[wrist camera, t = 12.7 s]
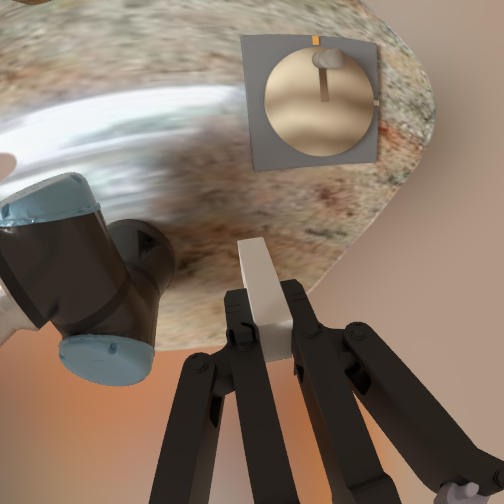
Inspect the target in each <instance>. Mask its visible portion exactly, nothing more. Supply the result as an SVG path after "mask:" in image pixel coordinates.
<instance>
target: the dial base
mask: <svg viewBox="0 0 504 504" xmlns="http://www.w3.org/2000/svg"><path fill="white" fill-rule="evenodd" d="M241 47H242V57H243V67H244V77H245V87H246V97H247V108H248V118H249V129H250V140H251V151H252V162H253V170H254V172H262V171H270V170H279V169H289V168H299V167H310V166H323V165H337V164H355V163H376V157H377V139H378V106H379V101H378V67H377V50H376V43H372V42H366V41H359V40H352V39H345V38H336V37H325V36H312V35H280V34H277V35H245V36H241ZM310 47H326V48H331V49H332V48H338V49H341V50H342V51H343V52H344V53H345V54H346V55H347V56H349V57H350V58H351V59H353V60H354V61H355V62H356V63H357V64H358V65H359V66H360V67H361V68H362V70H363V71H364V72H365V74H366V76H367V77H368V80H369V82H370V84H371V87H372V91H373V96H374V111H373V116H372V120H371V123H370V125H369V128H368V129H367V131H366V133H365V134H364V136H363V137H362V138H361V139H360V140H359V141H358V142H357V143H356V144H355V145H354V146H352V147H351V148H349V149H348V150H346V151H344V152H342V153H339V154H336V155H331V156H313V155H308V154H305V153H302V152H300V151H298V150H296V149H294V148H293V147H291V146H290V145H288V144H287V143H286V142H284V141H283V140H282V139H281V138H280V137H279V136H278V135H277V134H276V132H275V131H274V130H273V128H272V127H271V125H270V123H269V121H268V119H267V115H266V112H265V107H264V89H265V85H266V82H267V79H268V77H269V75H270V73H271V71H272V70H273V68H274V67H275V66H276V64H277V63H278V62H280V61H281V60H282V59H283V58H284V57H286V56H287V55H289V54H291V53H293V52H295V51H298V50H301V49H305V48H310Z"/></svg>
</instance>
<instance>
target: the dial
mask: <svg viewBox="0 0 504 504" xmlns="http://www.w3.org/2000/svg"><path fill="white" fill-rule="evenodd" d="M264 107H265V112H266V115H267V119H268V121H269V123H270V125H271V127H272V128H273V130H274V131H275V132H276V134H277V135H278V136H279V137H280V138H281V139H282V140H283V141H284V142H286V143H287V144H288V145H290V146H291V147H293V148H294V149H296V150H298V151H300V152H302V153H305V154H308V155H313V156H331V155H336V154H339V153H342V152H344V151H346V150H348V149H349V148H351V147H352V146H354V145H355V144H356V143H357V142H358V141H359V140H360V139H361V138H362V137H363V136H364V134H365V133H366V131H367V129H368V128H369V125H370V123H371V120H372V116H373V111H374V96H373V91H372V87H371V84H370V82H369V80H368V77H367V76H366V74H365V72H364V71H363V70H362V68H361V67H360V66H359V65H358V64H357V63H356V62H355V61H354V60H353V59H351V58H350V57H349V56H347V55H346V54H345V53H344V52H343V51H342V50H341V49H338V48H332V49H331V48H326V47H310V48H305V49H301V50H298V51H295V52H293V53H291V54H289V55H287V56H286V57H284V58H283V59H282V60H281V61H280V62H278V63H277V64H276V66H275V67H274V68H273V70H272V71H271V73H270V75H269V77H268V79H267V82H266V85H265V89H264Z"/></svg>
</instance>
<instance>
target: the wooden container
mask: <svg viewBox="0 0 504 504" xmlns="http://www.w3.org/2000/svg"><path fill="white" fill-rule="evenodd" d="M13 1H17V2H20V3H24V4H28V5H38V4H42V3H45V2H48V1H50V0H13Z"/></svg>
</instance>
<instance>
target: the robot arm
mask: <svg viewBox="0 0 504 504" xmlns="http://www.w3.org/2000/svg"><path fill="white" fill-rule="evenodd" d="M100 208H101V207H100V204H99V203H97V202H96V199H95V197H94V195H93V193H92V191H91V189H90V187H89V184H88V182H87V180H86V179H85V178H84V177H83V176H82V175H81V174H79V173H75V172H69V173H64V174H60V175H57V176H54V177H51V178H48V179H46V180H43V181H41V182H38V183H36V184H33V185H31V186H29V187H27V188H25V189H22V190H20V191H18V192H16V193H14V194H13V195H11V196H9V197H7V198H6V199H4V200H3V201H1V202H0V347H1V346H2V345H3V344H4V343H5V342H6V341H7V340H8V339H9V338H10V337H11V336H12V335H13V334H14V333H15V332H16V331H17V330H20V329H25V330H31V331H38V330H40V329H41V328H42V327H43V326H44V325H45V324H46V323H47V322H48V321H49V320H50V321H51V322H52V324H53V325H54V326H55V327H56V329H57V330H58V331H59V332H60V334H61V335H62V340H61V341H60V343H59V346H58V347H59V357H60V360H61V362H62V363H63V365H64V366H65V367H66V368H67V369H68V370H70V371H71V372H72V373H74V374H75V375H77V376H79V377H81V378H83V379H85V380H88V381H90V382H94V383H98V384H101V385H107V386H129V385H133V384H137V383H139V382H141V381H143V380H144V379H145V378H146V377H147V376H148V375H149V373H150V371H151V367H152V363H153V358H154V356H155V350H154V346H155V335H156V326H157V317H158V308H159V300H160V297H161V296H162V294H163V293H164V291H165V290H166V288H167V287H168V286H169V284H170V283H171V281H172V278H173V275H174V268H175V255H174V251H173V249H172V246H171V244H170V243H169V241H168V240H167V238H166V237H165V236H164V235H163V234H162V233H161V232H160V231H159V230H157V229H156V228H154V227H153V226H151V225H149V224H147V223H144V222H141V221H136V220H120V221H116V222H113V223H111V224H109V225H106V222H105V220H104V218H103V215H102V213H101V210H100ZM237 243H238V250H239V257H240V265H241V272H242V279H243V284H244V288H243V289H237V290H231V291H227V292H226V295H225V297H224V304H225V313H226V321H227V330H226V337H227V341H228V342H227V344H226V345H225V347H224V348H223V349H221V350H220V351H218V352H216V353H214V354H211V355H209V354H206V353H202V352H200V353H195V354H192V355H190V356H189V357H188V358H187V359H186V360H185V362H184V364H183V367H182V371H181V375H180V378H179V382H178V386H177V389H176V393H175V397H174V401H173V405H172V408H171V412H170V416H169V420H168V424H167V428H166V431H165V435H164V440H163V444H162V448H161V452H160V456H159V460H158V464H157V469H156V473H155V477H154V482H153V486H152V491H151V495H150V500H149V504H208V501H209V494H210V488H211V482H212V475H213V469H214V463H215V456H216V449H217V444H218V437H219V431H220V424H221V418H222V412H223V406H224V399H225V395H227V394H229V393H231V392H233V391H235V394H236V400H237V406H238V413H239V419H240V426H241V432H242V438H243V443H244V449H245V456H246V461H247V466H248V472H249V478H250V483H251V488H252V493H253V499H254V504H300V502H299V499H298V495H297V491H296V488H295V484H294V480H293V476H292V472H291V468H290V464H289V460H288V456H287V452H286V448H285V444H284V440H283V435H282V431H281V427H280V423H279V419H278V415H277V411H276V406H275V402H274V398H273V394H272V390H271V386H270V381H269V377H268V373H267V369H266V364H265V363H266V362H271V361H276V360H282V359H287V358H291V357H292V354H293V357H294V375H296V374H297V377H298V381H299V384H300V387H301V391H302V394H303V397H304V401H305V404H306V407H307V411H308V414H309V417H310V421H311V424H312V428H313V431H314V434H315V438H316V441H317V444H318V448H319V451H320V454H321V458H322V461H323V465H324V468H325V471H326V475H327V478H328V482H329V485H330V489H331V492H332V503H333V504H402V503H401V500H400V498H399V495H398V492H397V489H396V486H395V484H394V482H393V480H392V478H391V477H390V476H389V475H388V474H386V473H385V472H384V471H383V469H382V466H381V464H380V461H379V458H378V456H377V453H376V450H375V448H374V445H373V442H372V440H371V437H370V435H369V432H368V430H367V427H366V424H365V422H364V419H363V417H362V414H361V412H360V409H359V407H358V404H357V402H356V399H355V397H354V395H353V392H354V394H355V395H356V396H357V398H358V399H359V400H360V402H361V403H362V404H363V406H364V407H365V408H366V410H367V411H368V412H369V413H370V415H371V416H372V417H373V419H374V420H375V421H376V423H377V424H378V425H379V427H380V428H381V429H382V431H383V432H384V433H385V435H386V436H387V437H388V439H389V440H390V441H391V442H392V444H393V445H394V446H395V448H396V449H397V450H398V452H399V453H400V454H401V455H402V457H403V458H404V459H405V461H406V462H407V463H408V465H409V466H410V467H411V469H412V470H413V471H414V473H415V474H416V475H417V477H418V478H419V479H420V480H421V481H422V482H423V484H424V485H425V486H427V487H428V488H429V489H430V490H432V491H433V492H435V493H437V496H436V497H435V499H434V504H487V502H488V500H489V498H490V496H491V495H492V494H495V493H497V492H500V491H502V490H503V489H504V461H502V460H500V459H498V458H496V457H494V456H492V455H490V454H488V453H486V452H484V451H482V450H480V449H478V448H477V447H476V446H475V445H474V444H473V442H472V441H471V440H470V439H469V437H468V436H467V435H466V434H465V433H464V431H463V430H462V429H461V428H460V427H459V426H458V424H457V423H456V422H455V421H454V420H453V418H452V417H451V416H450V415H449V414H448V413H447V411H446V410H445V409H444V408H443V407H442V406H441V404H440V403H439V402H438V401H437V400H436V399H435V397H434V396H433V395H432V394H431V393H430V392H429V391H428V390H427V389H426V387H425V386H424V385H423V384H422V383H421V382H420V381H419V379H418V378H417V377H416V376H415V375H414V374H413V373H412V372H411V370H410V369H409V368H408V367H407V366H406V365H405V364H404V363H403V362H402V361H401V359H400V358H399V357H398V356H397V355H396V354H395V353H394V352H393V351H392V350H391V349H390V347H389V346H388V345H387V344H386V343H385V342H384V341H383V340H382V339H381V338H380V337H379V336H378V335H377V333H376V332H374V330H373V329H372V328H371V327H370V326H368V325H367V324H366V323H362V322H353V323H350V324H349V325H347V326H346V328H345V329H331V328H327V327H325V326H323V324H321V323H319V322H318V320H317V318H316V316H315V314H314V311H313V309H312V307H311V304H310V302H309V300H308V297H307V295H306V293H305V291H304V288H303V286H302V284H300V283H299V282H298V281H297V280H296V279H292V280H287V281H281V282H279V280H278V277H277V274H276V271H275V269H274V266H273V263H272V260H271V258H270V255H269V252H268V249H267V247H266V244H265V241H264V238H263V237H258V238H251V239H245V240H238V241H237ZM352 391H353V392H352Z"/></svg>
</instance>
